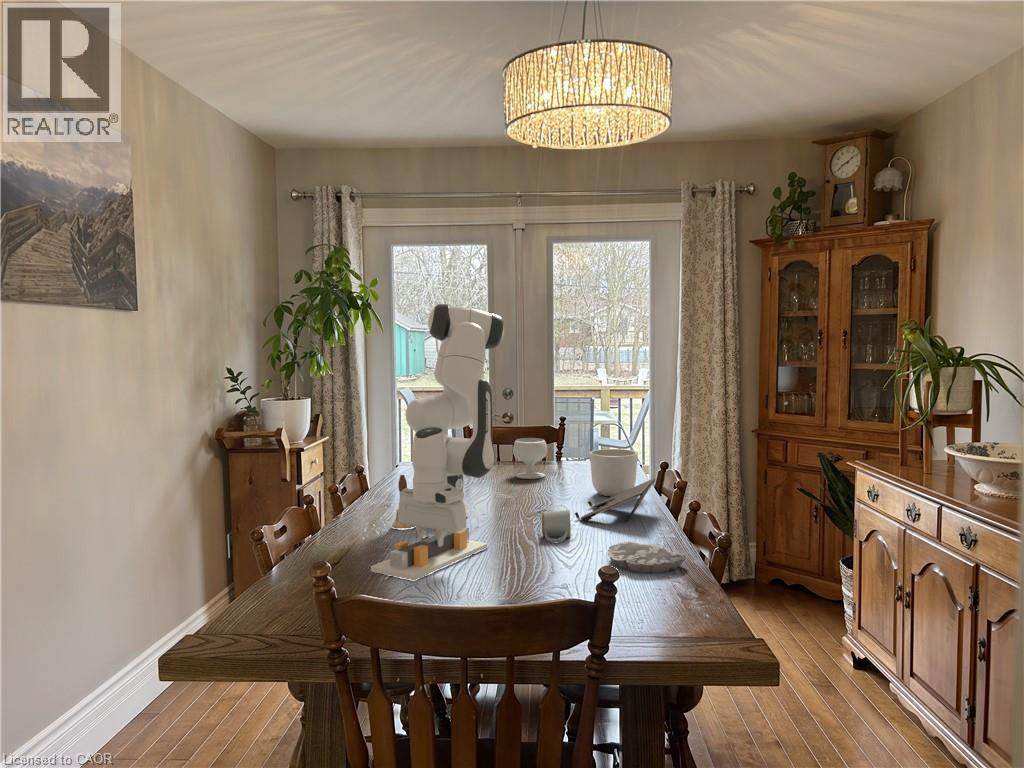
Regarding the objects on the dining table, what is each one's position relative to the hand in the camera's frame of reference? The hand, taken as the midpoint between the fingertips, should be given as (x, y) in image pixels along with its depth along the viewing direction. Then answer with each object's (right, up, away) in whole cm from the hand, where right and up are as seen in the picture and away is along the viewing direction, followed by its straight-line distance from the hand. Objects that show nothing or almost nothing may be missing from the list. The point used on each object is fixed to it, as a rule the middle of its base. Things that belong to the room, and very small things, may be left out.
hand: (431, 544), depth 184 cm
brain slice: (+53, -4, -6) cm, 54 cm away
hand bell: (-12, -2, +33) cm, 35 cm away
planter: (+57, +2, +71) cm, 91 cm away
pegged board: (0, -4, 0) cm, 4 cm away
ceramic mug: (+34, -3, +18) cm, 38 cm away
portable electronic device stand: (+53, -1, +41) cm, 67 cm away
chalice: (+28, +3, +106) cm, 109 cm away
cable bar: (0, -3, 0) cm, 3 cm away
